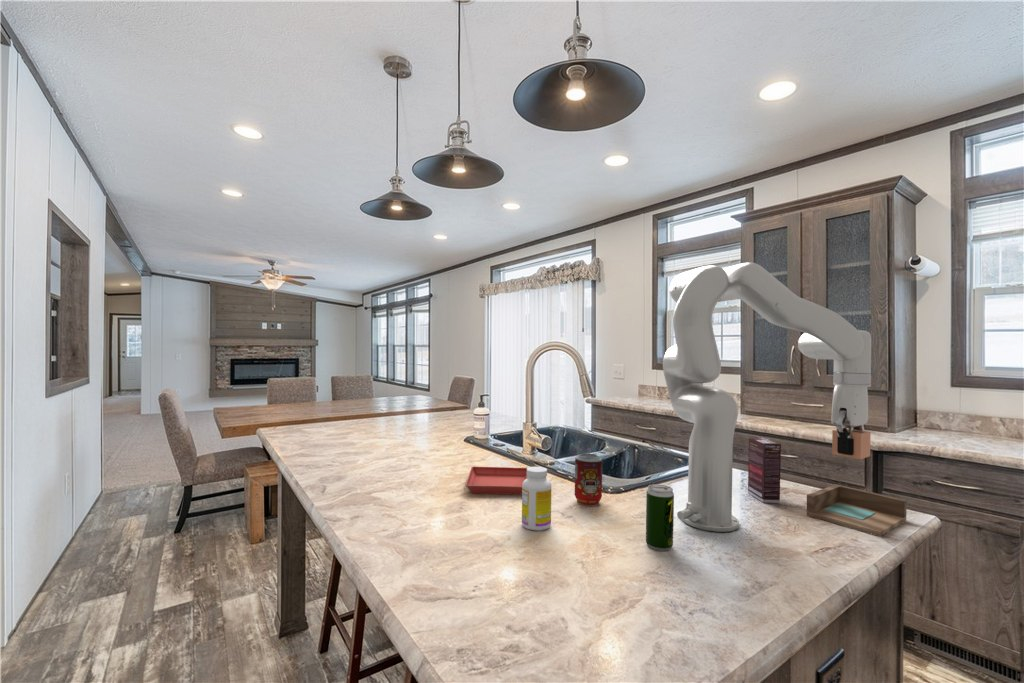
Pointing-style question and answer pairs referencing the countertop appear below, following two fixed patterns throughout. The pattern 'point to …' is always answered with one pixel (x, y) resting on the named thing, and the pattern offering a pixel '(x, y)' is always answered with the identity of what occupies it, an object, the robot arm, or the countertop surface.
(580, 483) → the soda can
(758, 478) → the supplement box
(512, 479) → the plant saucer
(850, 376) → the robot arm
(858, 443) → the brown box
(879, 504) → the corner board
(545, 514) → the supplement bottle
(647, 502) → the beer can
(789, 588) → the countertop surface
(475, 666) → the countertop surface
